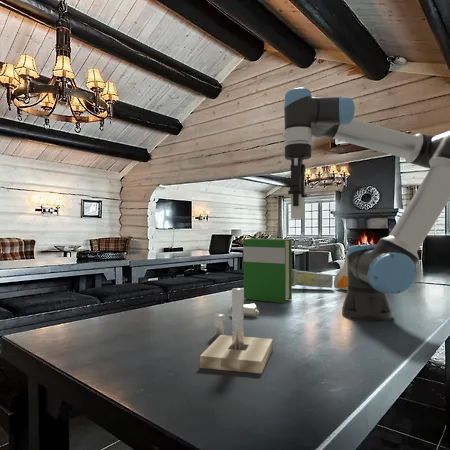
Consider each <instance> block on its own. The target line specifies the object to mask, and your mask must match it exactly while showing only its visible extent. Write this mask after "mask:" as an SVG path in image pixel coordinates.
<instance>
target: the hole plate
mask: <svg viewBox="0 0 450 450" xmlns="http://www.w3.org/2000/svg"><path fill="white" fill-rule="evenodd" d="M273 340H274V339H273V338H265V337H262V338H261V337H254V336H253V337H252V336H244V350H233V349H232V335H227V334H225V335H220V336H219V337H218V338H215V340H214V341H213V342H212V343H211V344H210V345H209V346H208V347H207V348H206V349H205V350H204V351H203V352H202V353H201V354H200V355H199V356H200V357H199V367H200V368H201V369H210V370H220V371H221V370H222V371H230V372H243V373H251V374H252V373H255V374H262V373H263V371H264V369H265V367H266V365H267V363H268V360H269V359H270V356H271V354H272V352H273V351H274V350H273V347H274V345H273V344H274V343H273V342H274V341H273Z"/></svg>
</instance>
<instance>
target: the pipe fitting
mask: <svg viewBox="0 0 450 450" xmlns="http://www.w3.org/2000/svg"><path fill="white" fill-rule="evenodd" d="M230 314H231V315H232V305H231V306H230ZM259 314H260V311H259V309H258V308H257V305H256V304H255V303H254V302H253V303H249V304H244V317H250V318H256V316H258V315H259Z"/></svg>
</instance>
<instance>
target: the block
mask: <svg viewBox="0 0 450 450" xmlns="http://www.w3.org/2000/svg"><path fill="white" fill-rule="evenodd" d="M333 277H334V276H333V274H327V273H321V272H320V273H318V272H312V271H305V270H304V271H303V270H297V269H294V268H292V288H293V287H296V286H302V287H303V286H304V287H311V288H326V289H327V288H328V289H329V288H330V289H332V288H333V286H334V278H333Z"/></svg>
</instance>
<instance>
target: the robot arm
mask: <svg viewBox="0 0 450 450" xmlns="http://www.w3.org/2000/svg"><path fill="white" fill-rule="evenodd" d="M284 94H285V95H284V106H283V110H284V111H283V112H284V133H283V134H282V137H283V139H284V144H285V146H284V159H286V160H287V161H291V162H290V163H291V164H290V167H289V168H290V187H289V190H287V194H288V195H290V219H291V220H293V219H295V220H304V219H305V218H306V216H305V215H306V214H305V213H306V211H305V210H306V207H305V204H306V203H305V202H306V201H305V200H306V199H305V198H308V194H306V193H305V192H306V191H305V190H306V189H305V178H306V164H305V163H303V161H304V160H308V159H311V158H312V145H311V143H312V137H314V138H322V137H326V138H328V139H329V138H330V139H333V140H336V141H337V140H338V141H341V142H343V143H348V144H351V145H353V146H354V145H355V146H359V147H363V148H366V149H369V150H374V151H376V152H380V153H383V154H384V153H385V154H388V155H392V156H394V157H398V158H402V159H405V162H406V163H408V164H411V165H415V166H419V167H423V168H427V169H429V170H428V171H427V174H426V176H425V177H424V179H423V181H422V182H421V184H420V185H419V187H418V188H417V190H416V191H415V193H414V195H413V196H412V198H411V199H410V201H409V203H408V204H407V206H406V207H405V208H404V211H403V213H402V214H401V215H400V217H399V219H398V220H397V222H396V224H395V225H394V227H393V228H392V229H391V232H390V233H389V235H388V236H384V237H381V238H380V239H379V240H378V241H377V243H376V244H356V245H355V244H354V245H351V246H349V247H348V248H347V252H348V254H347V274H348V290H347V291H346V292H347V293H346V296H345V298H344V302H343V304H342V308H341V314H342V316H343V317H344V318H346V319H350V320H353V321H358V322H359V321H361V322H371V323H372V322H378V321H379V322H386V321H387V322H388V321H390V320H392V319H393V312H392V308H391V305H390V302H389V299H388V296H387V294H388V295H397V294H402V293H404V292H406V291H408V290H409V289H410V288H411V287H412V285H413V284H414V283H415V281H416V278H417V271H416V268H417V267H416V265H417V264H418V262H419V261H420V257H419V254H418V251H419V249H420V247H421V246H422V245H423V243H424V241H425V239H426V238H427V236H428V235H429V233H430V231H431V230H432V229H433V227H434V225H435V224H436V222H437V221H438V218H439V217H440V216H441V214H442V213H443V210H444V209H445V207H446V206H447V204H448V203H449V201H450V130H447V131H444V132H441V133H440V134H434V135H430V134H422V133H416V134H414V135H413V134H411V133H406V132H402V131H399V130H397V129H391V128H388V127H385V126H381V125H378V124H374V123H370V122H367V121H363V120H360V119H356V118H354V117H355V112H356V111H355V109H356V106H355V102H354V100H353V98H352V97H345V96H339V97H338V96H332V97H331V96H330V97H329V96H328V97H324V96H323V97H321V96H319V97H315V96H313V95H312V91H311V90H310V89H309V88H304V87H297V88H296V87H294V88H291V89H289V90H288V91H286V93H284Z"/></svg>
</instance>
